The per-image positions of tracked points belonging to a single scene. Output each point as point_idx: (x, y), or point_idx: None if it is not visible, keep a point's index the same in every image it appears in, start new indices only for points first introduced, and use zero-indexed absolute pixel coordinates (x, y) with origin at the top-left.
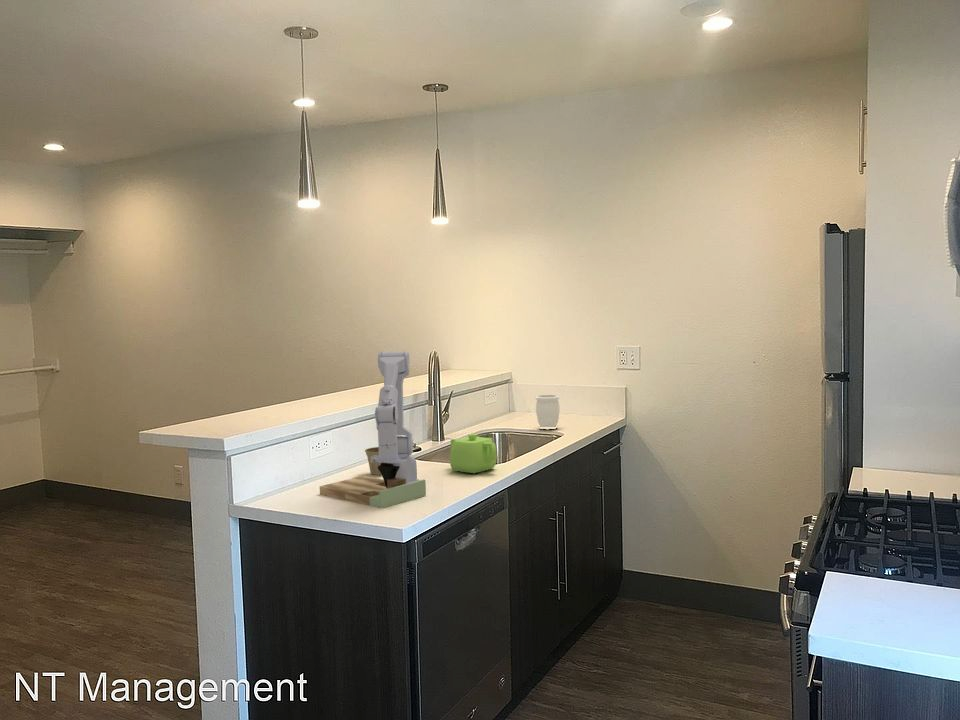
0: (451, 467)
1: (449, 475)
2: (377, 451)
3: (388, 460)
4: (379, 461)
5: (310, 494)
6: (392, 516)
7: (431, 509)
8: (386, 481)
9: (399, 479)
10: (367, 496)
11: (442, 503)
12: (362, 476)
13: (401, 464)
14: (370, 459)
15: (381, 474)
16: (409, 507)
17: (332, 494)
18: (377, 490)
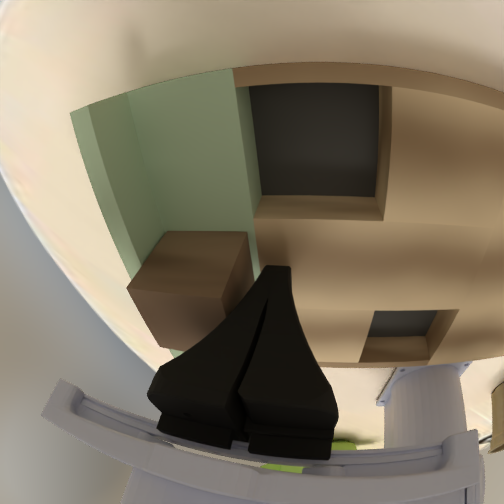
0: (351, 447)
1: (340, 431)
2: None
3: (115, 457)
4: (168, 465)
5: None
6: (25, 76)
7: (44, 222)
8: (258, 295)
9: (166, 329)
10: (266, 69)
11: (90, 284)
12: None
13: (54, 398)
14: None
15: (502, 384)
16: (86, 190)
17: None
18: (358, 234)
